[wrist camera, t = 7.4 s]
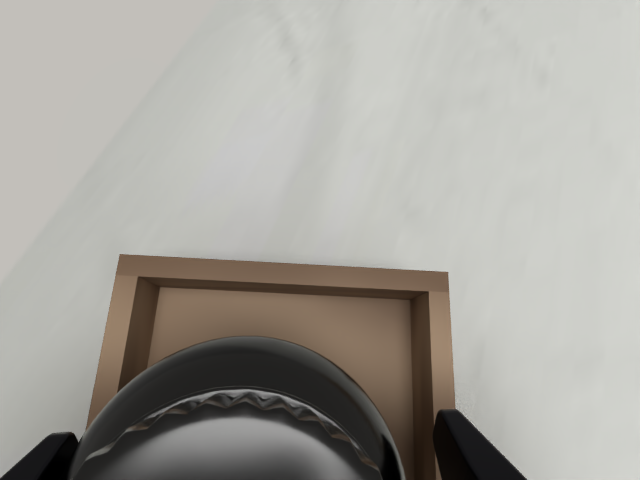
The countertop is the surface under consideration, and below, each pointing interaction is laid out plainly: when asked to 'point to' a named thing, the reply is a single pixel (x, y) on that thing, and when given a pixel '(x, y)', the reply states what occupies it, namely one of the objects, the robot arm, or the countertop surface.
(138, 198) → the countertop surface
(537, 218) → the countertop surface
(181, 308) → the square wooden tray
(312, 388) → the supplement bottle
